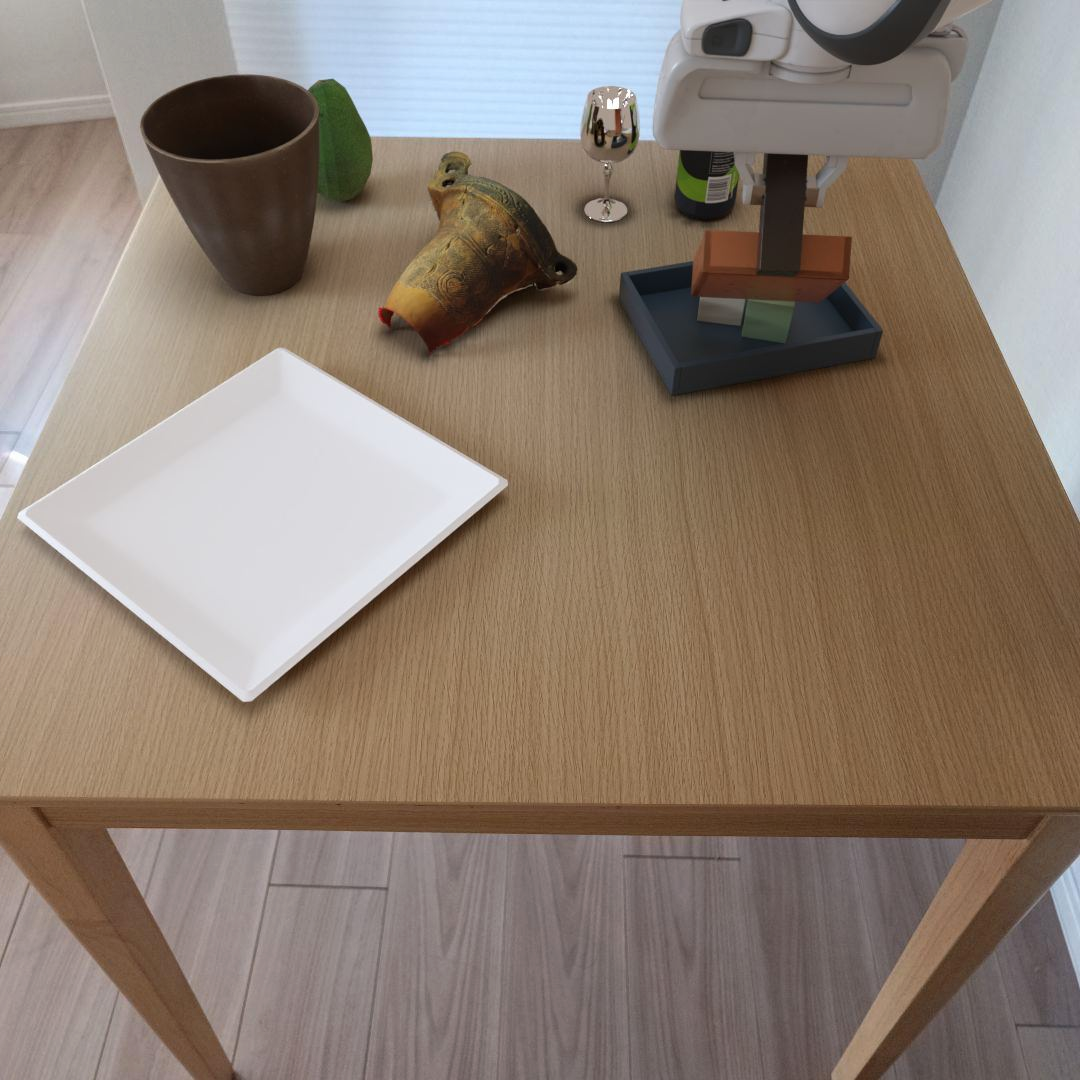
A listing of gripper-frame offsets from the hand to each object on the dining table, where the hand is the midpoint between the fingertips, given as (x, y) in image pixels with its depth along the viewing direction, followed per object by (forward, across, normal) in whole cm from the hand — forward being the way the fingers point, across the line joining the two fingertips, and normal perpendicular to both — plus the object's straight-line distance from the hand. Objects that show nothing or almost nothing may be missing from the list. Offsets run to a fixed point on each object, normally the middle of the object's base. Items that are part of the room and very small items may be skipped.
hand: (781, 202), depth 82 cm
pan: (+7, 0, 0) cm, 7 cm away
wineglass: (+17, +13, -26) cm, 34 cm away
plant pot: (+17, +46, -12) cm, 50 cm away
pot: (+17, +25, -11) cm, 32 cm away
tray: (+17, 0, -7) cm, 18 cm away
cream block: (+12, +2, -9) cm, 15 cm away
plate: (+17, +37, +19) cm, 45 cm away
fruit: (+17, +41, -26) cm, 52 cm away
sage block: (+12, -2, -7) cm, 14 cm away
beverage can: (+17, +3, -27) cm, 32 cm away
